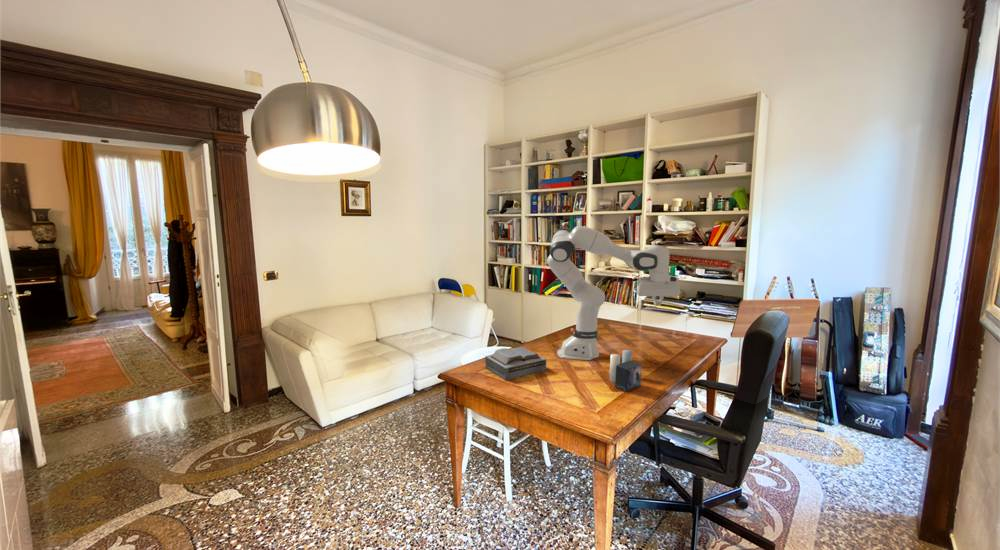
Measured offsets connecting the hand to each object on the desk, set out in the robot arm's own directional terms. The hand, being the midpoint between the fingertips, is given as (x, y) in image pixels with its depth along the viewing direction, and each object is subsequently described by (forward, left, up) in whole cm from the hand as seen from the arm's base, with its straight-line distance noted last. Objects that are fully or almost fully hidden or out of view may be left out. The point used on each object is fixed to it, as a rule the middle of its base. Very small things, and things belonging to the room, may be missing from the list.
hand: (657, 304), depth 198 cm
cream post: (-25, -21, -31) cm, 45 cm away
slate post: (-18, -15, -31) cm, 39 cm away
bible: (-70, -8, -32) cm, 77 cm away
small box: (-21, -28, -31) cm, 47 cm away
